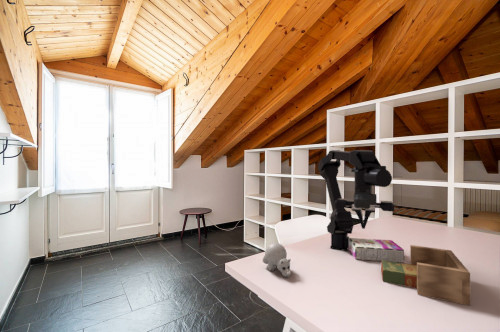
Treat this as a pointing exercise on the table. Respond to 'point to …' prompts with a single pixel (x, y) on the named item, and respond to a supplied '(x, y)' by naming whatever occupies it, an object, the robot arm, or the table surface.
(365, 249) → the candy bar box
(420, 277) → the book slot
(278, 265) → the chubby cartoon animal
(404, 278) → the carton
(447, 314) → the table surface
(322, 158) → the robot arm
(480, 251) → the table surface
